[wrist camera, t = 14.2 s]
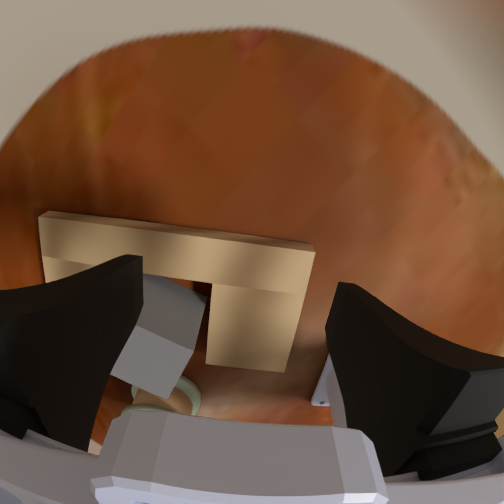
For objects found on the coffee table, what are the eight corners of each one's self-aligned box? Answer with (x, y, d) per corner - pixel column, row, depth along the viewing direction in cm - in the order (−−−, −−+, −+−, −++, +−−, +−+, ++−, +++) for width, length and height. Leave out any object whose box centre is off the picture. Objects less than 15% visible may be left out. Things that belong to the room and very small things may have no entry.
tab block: (207, 296, 22) (193, 351, 17) (182, 344, 24) (167, 399, 18) (143, 266, 21) (111, 312, 16) (125, 317, 23) (97, 367, 18)
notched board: (311, 243, 21) (315, 252, 19) (282, 359, 24) (284, 372, 23) (49, 210, 20) (38, 216, 18) (63, 322, 23) (55, 332, 22)
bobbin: (202, 375, 25) (194, 420, 20) (200, 418, 28) (193, 459, 23) (130, 362, 25) (112, 403, 20) (137, 406, 27) (124, 445, 23)
